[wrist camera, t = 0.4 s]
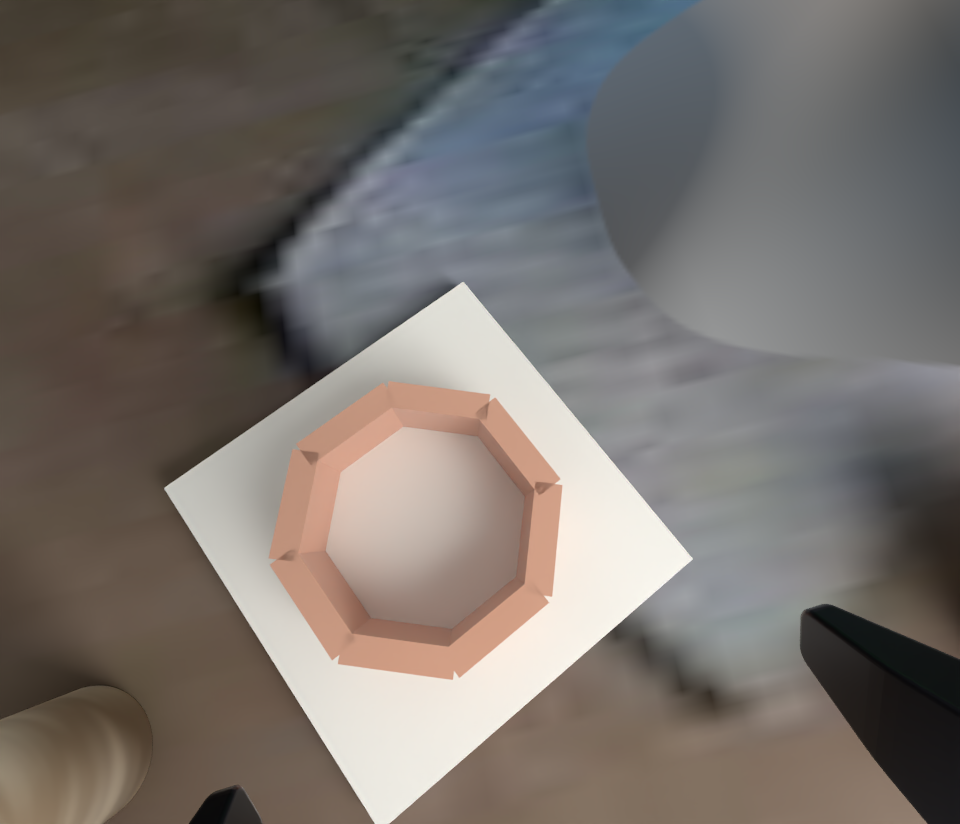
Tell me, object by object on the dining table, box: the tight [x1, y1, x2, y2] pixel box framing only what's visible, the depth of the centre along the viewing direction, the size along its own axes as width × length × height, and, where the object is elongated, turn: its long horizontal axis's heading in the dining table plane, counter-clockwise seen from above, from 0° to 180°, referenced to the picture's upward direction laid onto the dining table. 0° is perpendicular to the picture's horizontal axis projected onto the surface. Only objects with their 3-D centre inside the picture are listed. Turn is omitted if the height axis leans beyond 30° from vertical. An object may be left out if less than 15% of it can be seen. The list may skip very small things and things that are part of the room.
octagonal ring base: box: [164, 282, 692, 824], centre depth 21 cm, size 16×16×4 cm
